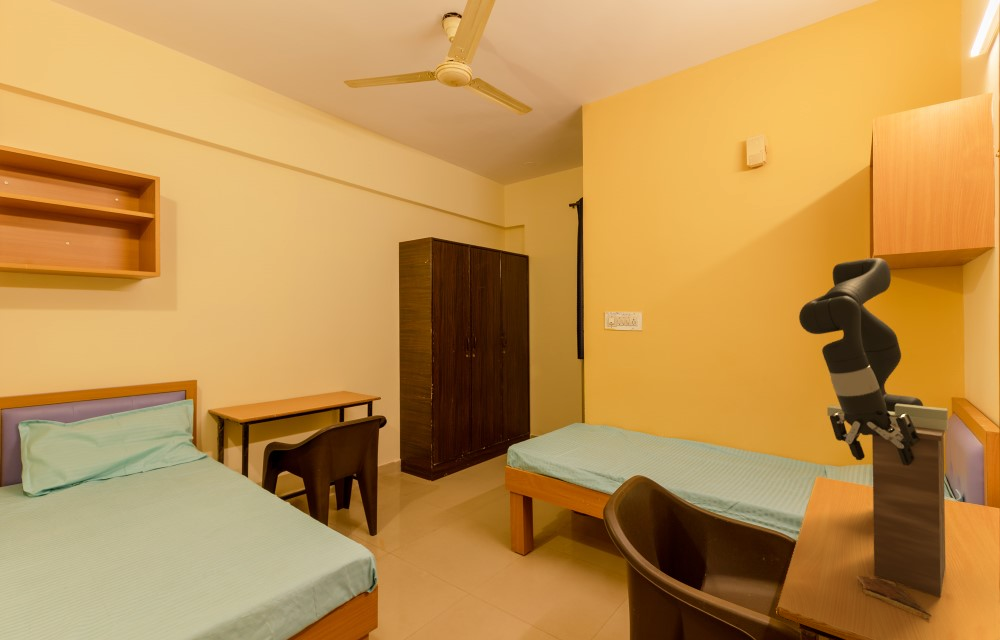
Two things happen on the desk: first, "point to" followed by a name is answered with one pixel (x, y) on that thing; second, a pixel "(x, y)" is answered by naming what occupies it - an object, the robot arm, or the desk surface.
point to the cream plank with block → (914, 415)
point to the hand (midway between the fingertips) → (883, 461)
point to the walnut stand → (910, 512)
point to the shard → (892, 595)
